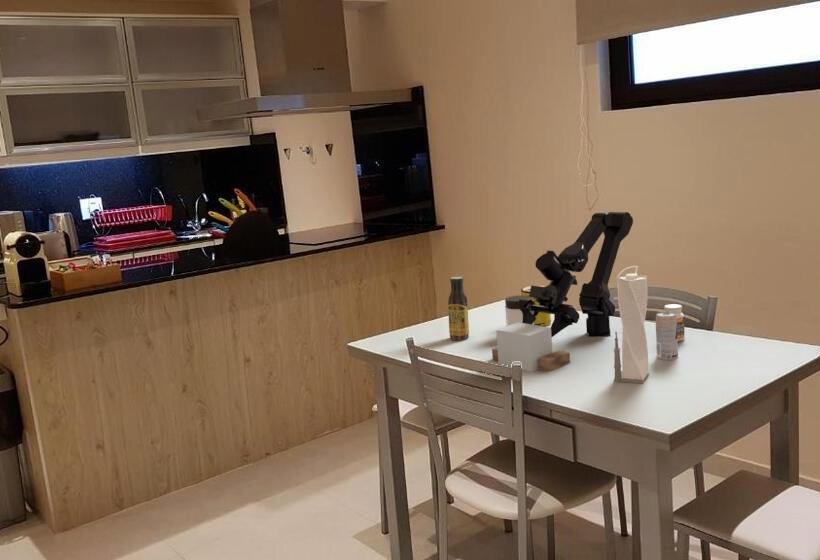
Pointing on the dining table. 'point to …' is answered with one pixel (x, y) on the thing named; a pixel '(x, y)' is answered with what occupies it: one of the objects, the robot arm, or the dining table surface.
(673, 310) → the pill bottle
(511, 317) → the jar
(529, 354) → the block
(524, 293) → the yellow can
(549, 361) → the pair of brown bars
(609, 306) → the robot arm
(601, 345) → the dining table surface
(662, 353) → the energy drink
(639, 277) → the skyscraper
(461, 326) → the sauce bottle
